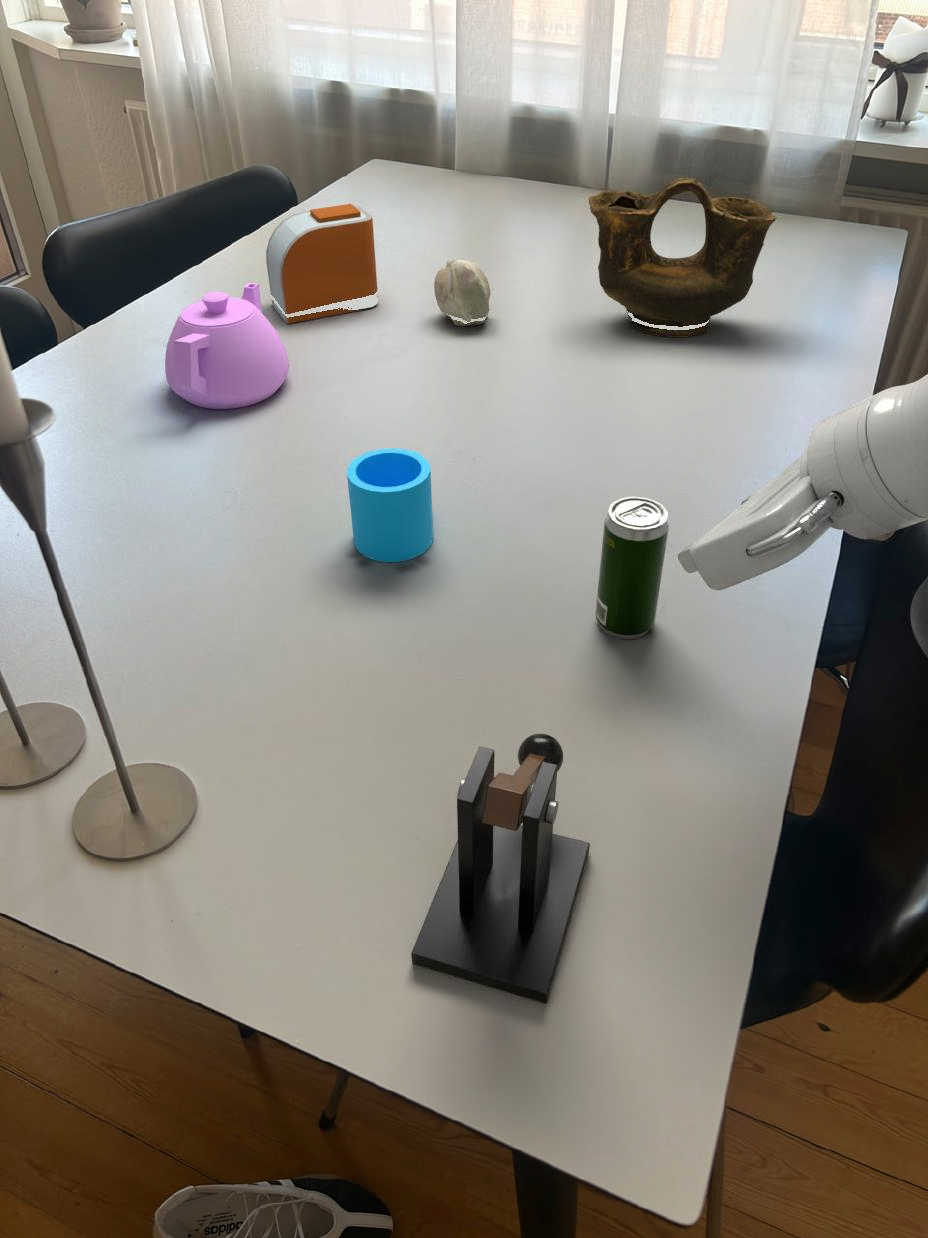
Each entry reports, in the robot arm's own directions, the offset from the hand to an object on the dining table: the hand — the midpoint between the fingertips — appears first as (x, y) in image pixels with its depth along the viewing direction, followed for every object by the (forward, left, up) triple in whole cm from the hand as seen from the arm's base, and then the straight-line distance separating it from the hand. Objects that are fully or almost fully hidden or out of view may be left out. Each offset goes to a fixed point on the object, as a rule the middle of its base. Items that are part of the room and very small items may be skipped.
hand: (718, 533), depth 76 cm
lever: (+9, +25, -6) cm, 28 cm away
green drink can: (+7, -3, -13) cm, 15 cm away
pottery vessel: (+14, -71, -13) cm, 74 cm away
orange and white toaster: (+64, -63, -13) cm, 91 cm away
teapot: (+65, -35, -13) cm, 75 cm away
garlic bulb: (+43, -64, -13) cm, 78 cm away
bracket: (+9, +29, -13) cm, 33 cm away
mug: (+32, -11, -13) cm, 36 cm away
